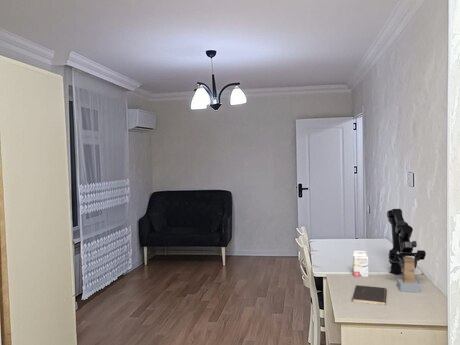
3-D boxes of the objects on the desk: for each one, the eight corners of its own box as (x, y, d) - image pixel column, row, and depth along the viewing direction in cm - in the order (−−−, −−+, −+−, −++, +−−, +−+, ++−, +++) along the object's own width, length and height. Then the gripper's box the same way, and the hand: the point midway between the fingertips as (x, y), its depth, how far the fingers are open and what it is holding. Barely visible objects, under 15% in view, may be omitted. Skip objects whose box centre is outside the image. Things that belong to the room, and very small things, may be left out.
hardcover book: (352, 302, 231) (352, 298, 231) (356, 289, 253) (356, 285, 253) (385, 306, 226) (385, 301, 226) (386, 292, 248) (386, 288, 247)
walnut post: (402, 280, 253) (402, 257, 252) (412, 280, 252) (412, 257, 251) (404, 283, 248) (404, 259, 247) (414, 283, 247) (414, 259, 247)
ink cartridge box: (354, 276, 276) (354, 252, 275) (352, 274, 281) (352, 250, 280) (368, 276, 275) (368, 252, 274) (367, 274, 280) (367, 250, 279)
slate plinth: (396, 286, 256) (396, 279, 256) (415, 286, 254) (415, 279, 254) (400, 291, 246) (400, 284, 246) (420, 292, 245) (420, 285, 244)
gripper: (389, 235, 254) (393, 259, 244) (425, 235, 251) (430, 260, 241) (387, 246, 262) (390, 270, 252) (421, 247, 259) (426, 271, 249)
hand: (409, 268), depth 248 cm, fingers open, 6 cm apart
